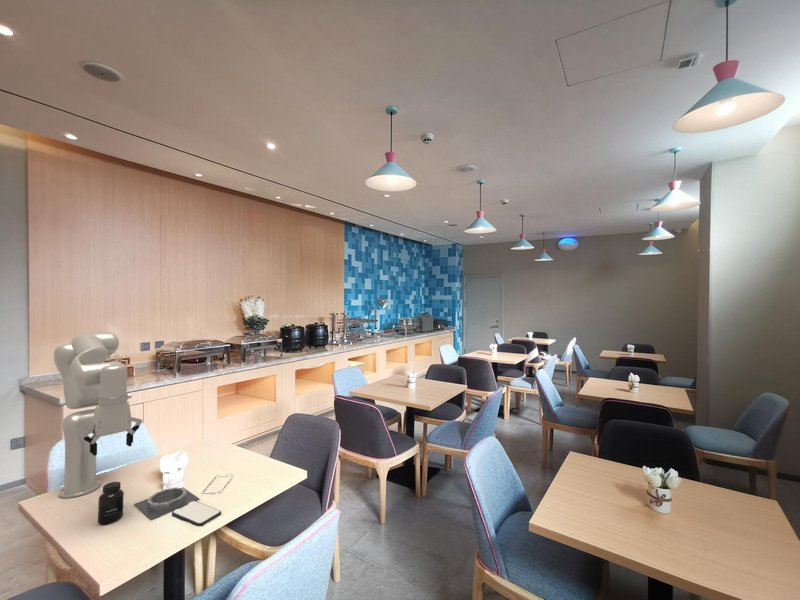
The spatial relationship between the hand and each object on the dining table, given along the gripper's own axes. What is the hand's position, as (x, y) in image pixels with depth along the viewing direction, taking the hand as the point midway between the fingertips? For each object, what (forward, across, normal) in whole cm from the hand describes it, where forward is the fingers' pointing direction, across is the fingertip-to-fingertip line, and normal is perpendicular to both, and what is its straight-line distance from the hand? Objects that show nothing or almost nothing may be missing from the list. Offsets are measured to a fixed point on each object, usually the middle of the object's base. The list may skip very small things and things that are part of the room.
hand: (112, 449), depth 123 cm
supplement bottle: (+24, 0, 0) cm, 24 cm away
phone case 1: (+25, -19, +21) cm, 38 cm away
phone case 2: (+25, -34, +6) cm, 42 cm away
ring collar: (+24, -16, +4) cm, 29 cm away
